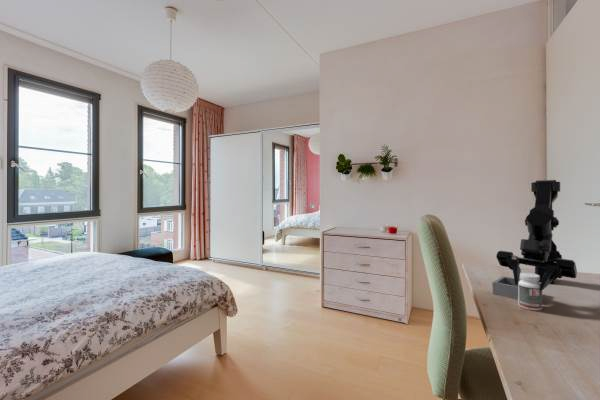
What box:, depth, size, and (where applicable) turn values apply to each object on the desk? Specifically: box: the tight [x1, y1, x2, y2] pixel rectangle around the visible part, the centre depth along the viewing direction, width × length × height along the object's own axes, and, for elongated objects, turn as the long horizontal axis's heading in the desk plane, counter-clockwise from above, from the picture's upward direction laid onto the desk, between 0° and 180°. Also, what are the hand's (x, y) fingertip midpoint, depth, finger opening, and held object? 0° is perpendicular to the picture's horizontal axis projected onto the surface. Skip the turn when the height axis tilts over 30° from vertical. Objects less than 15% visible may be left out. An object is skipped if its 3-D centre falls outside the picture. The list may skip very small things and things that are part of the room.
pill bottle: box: [517, 272, 543, 311], centre depth 85 cm, size 6×6×10 cm
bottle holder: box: [492, 275, 521, 300], centre depth 95 cm, size 10×10×4 cm
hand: (528, 286), depth 84 cm, fingers closed on pill bottle, 6 cm apart
